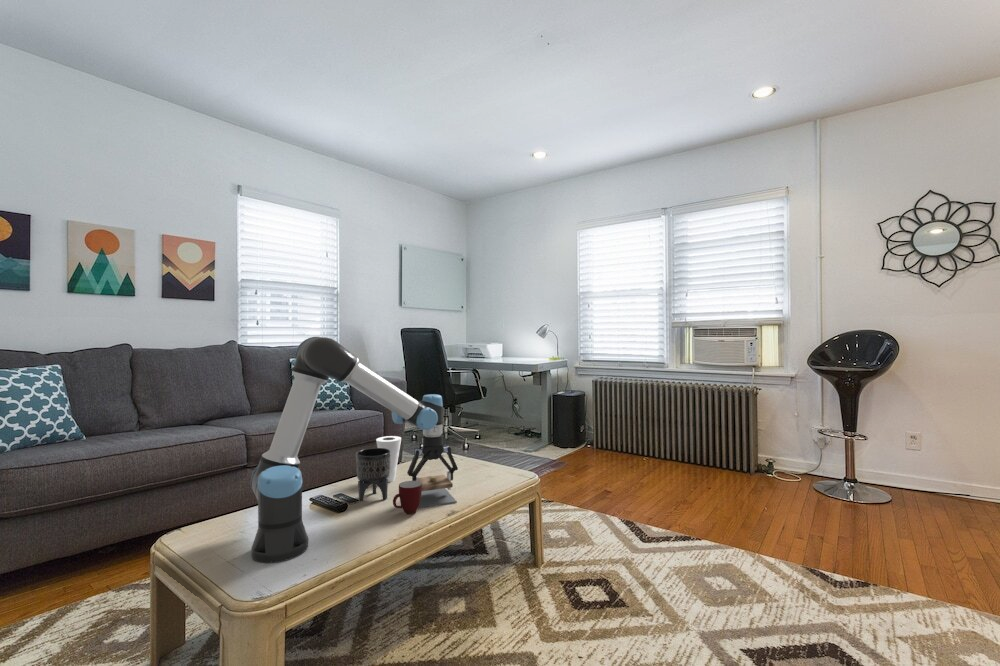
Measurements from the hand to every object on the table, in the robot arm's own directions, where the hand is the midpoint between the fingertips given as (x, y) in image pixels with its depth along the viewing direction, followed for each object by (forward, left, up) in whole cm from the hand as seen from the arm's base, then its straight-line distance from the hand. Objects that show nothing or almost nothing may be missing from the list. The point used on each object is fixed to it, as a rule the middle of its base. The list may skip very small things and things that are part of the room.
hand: (433, 491), depth 178 cm
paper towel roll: (-12, +29, -3) cm, 32 cm away
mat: (0, 0, -3) cm, 3 cm away
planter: (-21, +10, -3) cm, 23 cm away
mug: (-12, -11, -3) cm, 16 cm away
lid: (0, 0, +3) cm, 3 cm away
